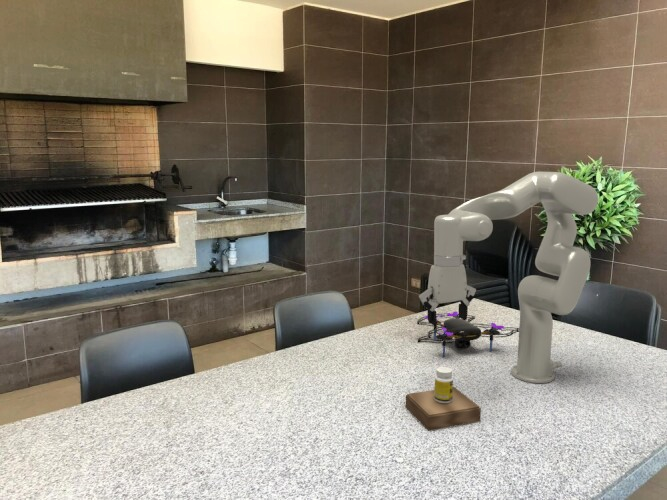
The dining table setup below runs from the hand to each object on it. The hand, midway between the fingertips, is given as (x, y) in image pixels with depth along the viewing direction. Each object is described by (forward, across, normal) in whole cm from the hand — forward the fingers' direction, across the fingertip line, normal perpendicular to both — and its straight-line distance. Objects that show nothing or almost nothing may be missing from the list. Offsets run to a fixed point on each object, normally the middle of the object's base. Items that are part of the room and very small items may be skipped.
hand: (447, 321), depth 144 cm
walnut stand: (+22, +7, +8) cm, 25 cm away
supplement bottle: (+18, +6, +8) cm, 21 cm away
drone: (+24, -25, -35) cm, 49 cm away
